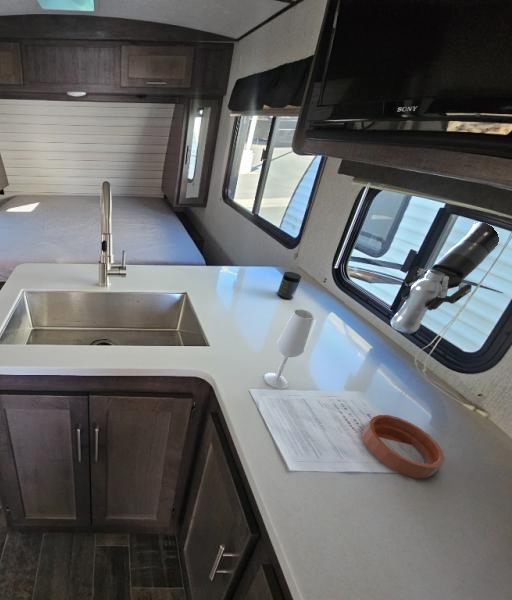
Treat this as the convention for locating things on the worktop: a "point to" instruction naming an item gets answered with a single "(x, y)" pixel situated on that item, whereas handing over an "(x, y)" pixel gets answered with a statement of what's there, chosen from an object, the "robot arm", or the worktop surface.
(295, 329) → the champagne flute
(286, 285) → the supplement container
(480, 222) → the robot arm
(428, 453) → the ring
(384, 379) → the worktop surface
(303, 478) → the worktop surface
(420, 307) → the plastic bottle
